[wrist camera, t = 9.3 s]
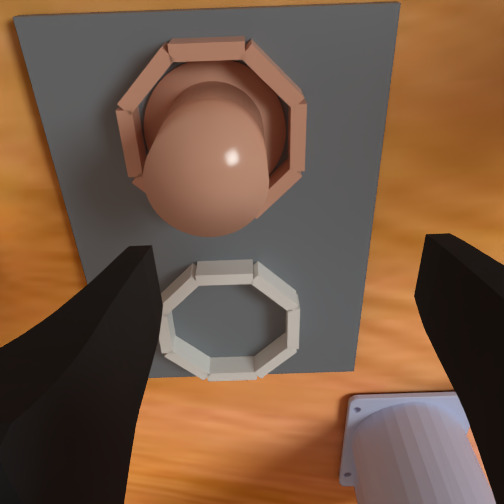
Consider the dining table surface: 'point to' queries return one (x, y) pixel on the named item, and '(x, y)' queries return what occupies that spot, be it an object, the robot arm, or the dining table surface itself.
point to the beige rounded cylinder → (208, 161)
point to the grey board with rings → (278, 159)
